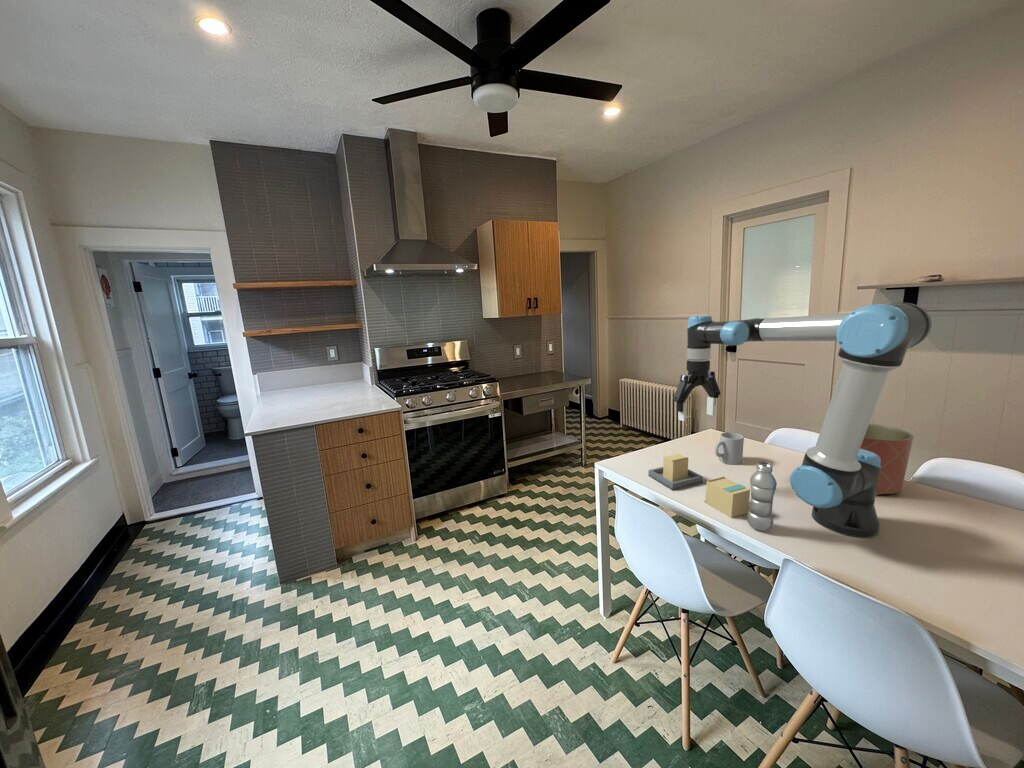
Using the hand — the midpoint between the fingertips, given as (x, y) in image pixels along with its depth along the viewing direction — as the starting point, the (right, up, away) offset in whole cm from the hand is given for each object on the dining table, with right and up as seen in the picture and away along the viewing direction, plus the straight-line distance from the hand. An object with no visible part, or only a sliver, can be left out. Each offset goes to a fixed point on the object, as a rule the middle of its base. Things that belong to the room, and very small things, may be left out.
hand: (696, 417), depth 141 cm
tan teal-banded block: (+2, -28, -15) cm, 32 cm away
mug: (+22, -20, +20) cm, 36 cm away
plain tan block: (-5, -23, +6) cm, 25 cm away
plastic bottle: (+6, -30, -26) cm, 41 cm away
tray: (-5, -24, +6) cm, 25 cm away
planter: (+57, -23, -5) cm, 62 cm away
